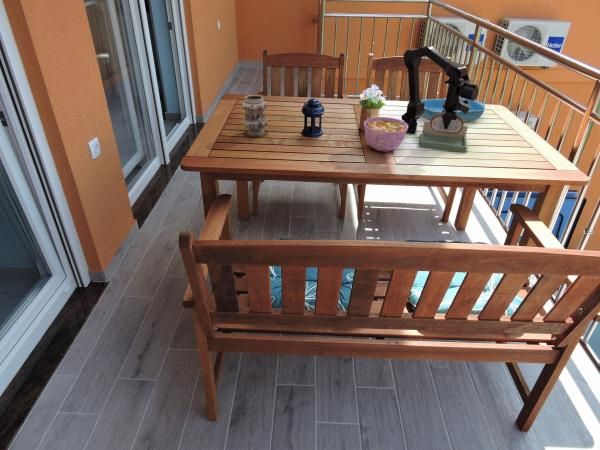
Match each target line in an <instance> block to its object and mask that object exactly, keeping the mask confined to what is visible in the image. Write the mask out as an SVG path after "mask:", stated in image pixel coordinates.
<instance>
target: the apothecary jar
mask: <svg viewBox="0 0 600 450" xmlns="http://www.w3.org/2000/svg"><path fill="white" fill-rule="evenodd" d="M267 106H268V105H267V102H266V101H265V100H264V97H263V96H262V95H258V94H250V95H246V96H245V98H244V101H243V102H242V104H241V107H242V109H243V110H244V119H243V120H242V125H243V126H244V127H245V128H246V129H248V130H246V132H245V135H246V136H248V137H252V138H259V137H263V136H265V135H266V134H267V132H266V131H265V130H264V128H265V127H266V126H268V123H269V122H268V119H267V118H266V115H265V113H266V112H265V110H266V109H267Z"/></svg>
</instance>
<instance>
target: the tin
mask: <svg viewBox="0 0 600 450" xmlns="http://www.w3.org/2000/svg"><path fill="white" fill-rule="evenodd" d="M429 121H430V125H431V128H432V129H433V130H434V131H436V132H443V133H450V134H456V133H459V132H460V131H461V130H462V129H463V125H465V121H463V119H462V118H461V117H460V116H457V119H456V120H451V122H450V124H449V126H448V128H447V129H444V124H443V119H442V114H436V115H434V116H433V117H432V119H431V120H429Z"/></svg>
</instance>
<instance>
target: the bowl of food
mask: <svg viewBox="0 0 600 450" xmlns="http://www.w3.org/2000/svg"><path fill="white" fill-rule="evenodd" d="M363 127H364V135H365V140H366V143H367V144H368V146H369V147H371V148H373V149H374V150H376V151H379V152H385V153H386V152H391V151H393V150H395V149H397V148H399V147H400V146H401V145H402V143H403V141H404V138H405V136H406V134H407V133H406V131H407V129H408V125H407V123H405V122H404V121H403V120H402V119H399V118H395V117H388V116H374V117H369V118H367V119H366V120H364V121H363Z"/></svg>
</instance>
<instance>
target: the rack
mask: <svg viewBox="0 0 600 450" xmlns="http://www.w3.org/2000/svg"><path fill="white" fill-rule="evenodd" d="M430 121H431V120H424V121H423V125H422V130H421V135H420V136H421V137H420V143H419V147H420V148H424V149H433V150H440V151H441V150H442V151H449V152H457V153H466V152H467V150H468V149H467V148H468V146H467V136H466V135H467V132H468V128H469V125H467V124H464V125H463V129H462V130H461V131H460V132H459V133H456V134H450V133H443V132H436V131H434V130H433V129H432V128H431V125H430Z"/></svg>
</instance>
